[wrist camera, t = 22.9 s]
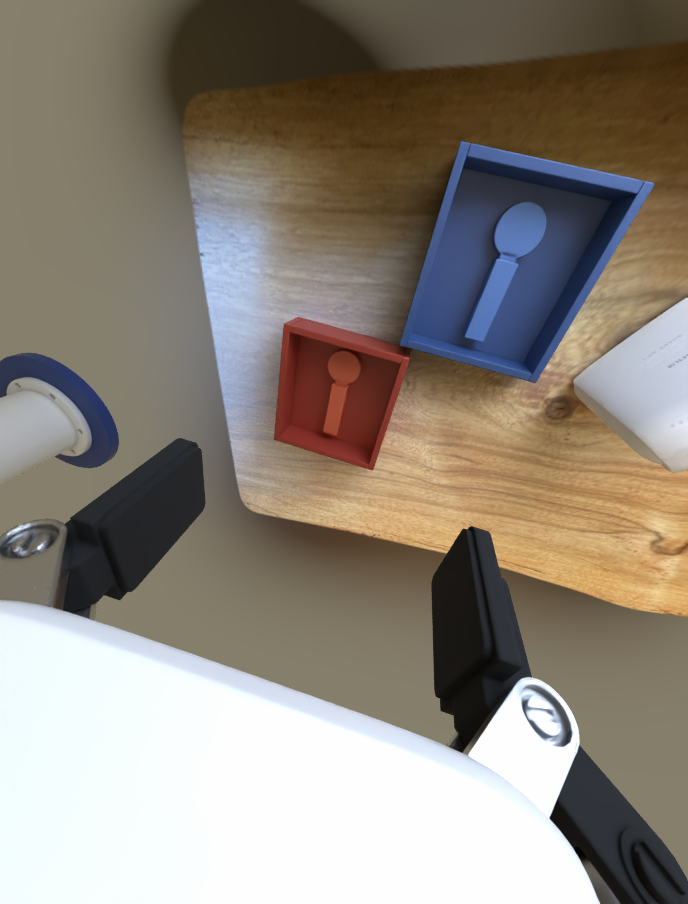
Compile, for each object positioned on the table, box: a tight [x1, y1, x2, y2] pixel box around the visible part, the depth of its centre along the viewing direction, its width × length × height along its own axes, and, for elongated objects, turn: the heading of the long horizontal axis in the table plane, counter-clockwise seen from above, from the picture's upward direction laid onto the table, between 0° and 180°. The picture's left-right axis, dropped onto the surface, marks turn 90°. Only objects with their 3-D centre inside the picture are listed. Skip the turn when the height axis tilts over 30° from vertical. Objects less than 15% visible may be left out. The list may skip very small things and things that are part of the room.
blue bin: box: [399, 141, 655, 383], centre depth 23 cm, size 11×12×4 cm
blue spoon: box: [463, 201, 546, 342], centre depth 23 cm, size 9×3×1 cm, turn 168°
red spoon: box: [323, 348, 362, 436], centre depth 31 cm, size 9×3×1 cm, turn 168°
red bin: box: [274, 317, 412, 470], centre depth 31 cm, size 11×12×4 cm
